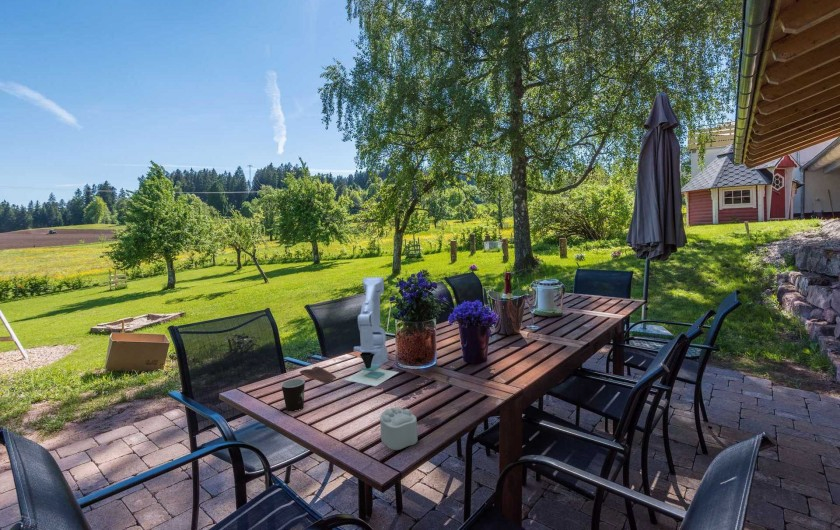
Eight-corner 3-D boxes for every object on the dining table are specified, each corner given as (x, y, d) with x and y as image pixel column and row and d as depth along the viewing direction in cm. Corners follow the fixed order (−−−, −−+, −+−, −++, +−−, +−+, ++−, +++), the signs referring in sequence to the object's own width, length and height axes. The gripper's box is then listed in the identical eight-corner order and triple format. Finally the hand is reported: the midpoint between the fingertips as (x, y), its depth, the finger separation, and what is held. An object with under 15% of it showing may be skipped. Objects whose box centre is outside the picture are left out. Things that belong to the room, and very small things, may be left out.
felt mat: (368, 367, 191) (368, 366, 191) (398, 373, 182) (398, 372, 182) (344, 380, 176) (344, 379, 176) (375, 387, 167) (375, 386, 167)
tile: (372, 370, 181) (384, 372, 178) (372, 374, 181) (384, 376, 178) (364, 375, 176) (376, 377, 173) (364, 378, 176) (377, 380, 173)
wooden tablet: (344, 378, 176) (324, 382, 170) (344, 383, 176) (324, 387, 170) (317, 365, 196) (298, 368, 189) (317, 369, 196) (298, 372, 189)
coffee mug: (293, 415, 144) (291, 389, 143) (278, 410, 149) (276, 385, 148) (317, 402, 154) (315, 378, 153) (302, 398, 159) (300, 374, 158)
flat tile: (369, 367, 191) (369, 363, 191) (380, 369, 188) (380, 365, 187) (361, 371, 186) (361, 367, 186) (373, 373, 182) (373, 369, 182)
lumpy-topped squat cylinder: (392, 452, 117) (391, 425, 116) (374, 434, 128) (373, 408, 127) (421, 441, 122) (420, 415, 122) (402, 424, 133) (401, 400, 133)
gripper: (348, 339, 177) (350, 368, 179) (374, 343, 170) (375, 373, 171) (358, 335, 183) (360, 363, 185) (383, 339, 176) (385, 367, 177)
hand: (368, 367), depth 178 cm, fingers closed
